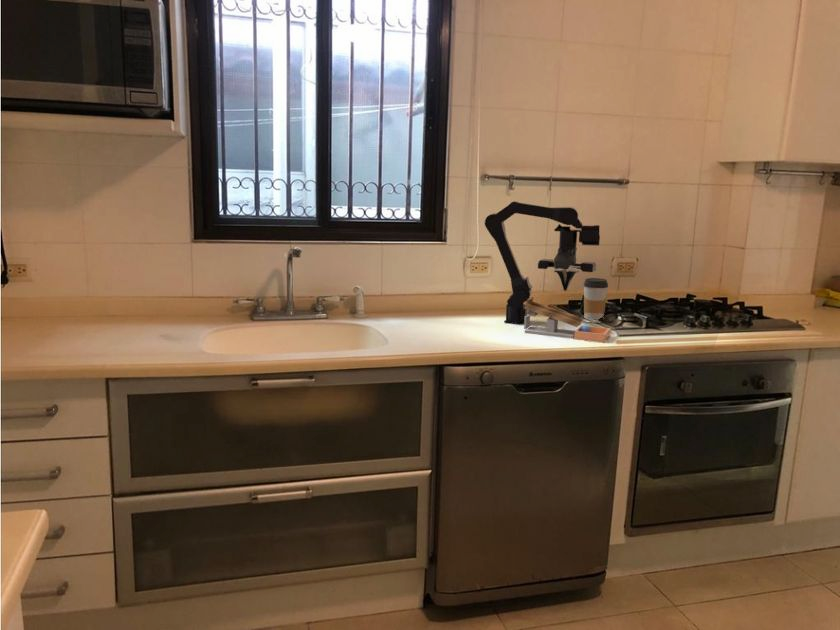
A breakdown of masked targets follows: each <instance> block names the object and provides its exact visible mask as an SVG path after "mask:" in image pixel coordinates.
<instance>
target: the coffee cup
mask: <svg viewBox="0 0 840 630" xmlns="http://www.w3.org/2000/svg"><path fill="white" fill-rule="evenodd" d="M608 287H609V282H608V280H607V279H605V278H601V277H599V278H597V277H589V278H585V280H584V282H583V294H584V295H583V313H584V315H583V317H584V318H586V319H600V318H602V317H603V316H604V315H605V309H606V304H607V303H606V302H607V294H608ZM584 318H583V319H584ZM603 318H604V317H603Z"/></svg>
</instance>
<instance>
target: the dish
mask: <svg viewBox="0 0 840 630" xmlns="http://www.w3.org/2000/svg"><path fill="white" fill-rule="evenodd" d="M582 326H584V325H583V324H582V325H581V326H579V327H577V329H576V331H575V337H574V340H579V341H589V342H595V343H596V342H597V343H602V344H603V343H606V341H607V340H608V339H609V338H610V337H611V329H612V328H611V327H610V328H609V327H602V326H591V325H588V326H589V327H590V330H591V331H590V332H582V331H580V329H581V327H582Z"/></svg>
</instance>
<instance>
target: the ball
mask: <svg viewBox="0 0 840 630" xmlns="http://www.w3.org/2000/svg"><path fill="white" fill-rule="evenodd" d="M581 326H582V325H581ZM581 326H580V327H581ZM589 326H590V325H583V326H582V327H581V329H580V331H582V332H590V331H591V330H590V327H589Z"/></svg>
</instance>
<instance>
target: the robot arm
mask: <svg viewBox="0 0 840 630" xmlns="http://www.w3.org/2000/svg"><path fill="white" fill-rule="evenodd" d="M515 214H518V215H526V216H532V217H537V218H543V219H544V218H545V219H549V220H552V221H555V222H557V223H558V225H557V226H556V227H555V228H554V232H559V240H558V241H559V242H558V249H557V253H556V255H555V257H554V259H549V258H543V259H540V260H539V261H538V262H537V269H539V270H541V269H542V270H547V269H548V268H554V270H553V272H554V273H557V275H558V277H559V279H560V281H561V284H562V289H563V291H565V292H566V291H568V289H569V286H570V285H571V282H572V280H573V278H574V276H575V274H577V273H579V272H580V271H582V272H583V273H594V272H595V271H597V264H596V262H595V261H583V262H581V263H577V250H578V247H577V243H581V245H582V246H590V247H591V246H592V247H593V246H595V247H596V246H598V247H599V246H600V239H601V238H600V237H601V235H600V225H599V224H595V225H585V224H583V222H582V221H581V220H580V219H579V212H578V210H577V209H576V208H575V207H573V206H562V207H561V206H559V207H558V206H557V207H554V206H553V207H550V206H545V205H539V204H533V203H532V204H531V203H524V202H520V201H511V202H510V203H508V205H507V206H505V207H504V208H502V209H501V210H499V211H498V212H494V213H491V214H489V215H487V216H486V218H485V219H484V227H485V228H486V230H487V231H488V232H489V235H491V237H492V239H493V240H494V242H495V243H496V246H497V248H498V250H499V253H500V256H501V258H502V260H503V263H504V266H505V269H506V271H507V273H508V277H509V278H510V284H511V289H512V290H511V291H512V294H511V295H510V296H509V297H508V298H507V301H506V307H505V308H506V310H505V311H506V312H505V320H504V321H503V322H504V323H506V324H507V323H508V324H516V325H524V318H525V316H527V315H528V310H527V309H525V305H526V304H524V303H526V302H527V299H529V298H531V295H532V289H533V286H532V285H531V283H530V278H529V276H526V277H524V275H523V274H522V272H521V270H520V267H519V265H518V262H517V260H516V257H515V255H514V253H513V250H512V248H511V246H510V243H509V242H510V241H508V238H507V233H506V226H505V221H507V220H508V219H509V218H511V217H512V216H514V215H515ZM562 224H563V226H562ZM564 225H565V226H564ZM571 226H572V227H573V228H574V229H572V228H571ZM578 234H579V235H578Z"/></svg>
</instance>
